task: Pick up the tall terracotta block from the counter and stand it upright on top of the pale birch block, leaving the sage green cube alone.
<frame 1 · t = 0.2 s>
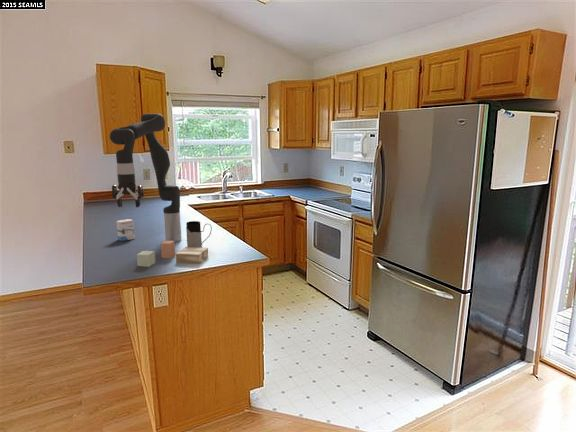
hand: (129, 207, 180), 29 cm above the worktop, tool pointing down, fingers open, 8 cm apart
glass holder: (199, 248, 212), on the worktop
birch block: (192, 260, 193), on the worktop
sage cube: (146, 264, 186), on the worktop
ink box: (126, 239, 230), on the worktop
terracotta block: (168, 256, 197), on the worktop
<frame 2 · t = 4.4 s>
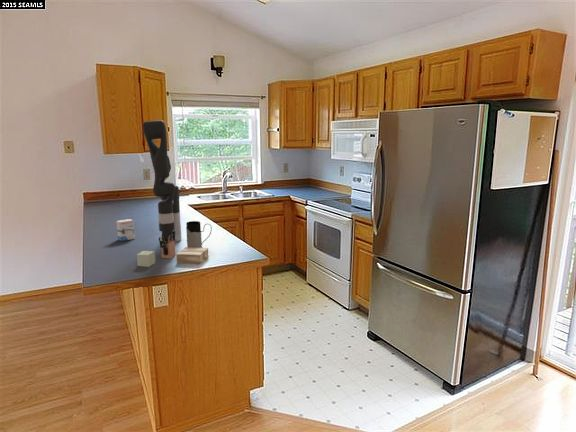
hand: (168, 253, 197), 2 cm above the worktop, tool pointing down, fingers closed on terracotta block, 5 cm apart
terracotta block: (168, 256, 197), on the worktop, touching gripper
everything else where it was.
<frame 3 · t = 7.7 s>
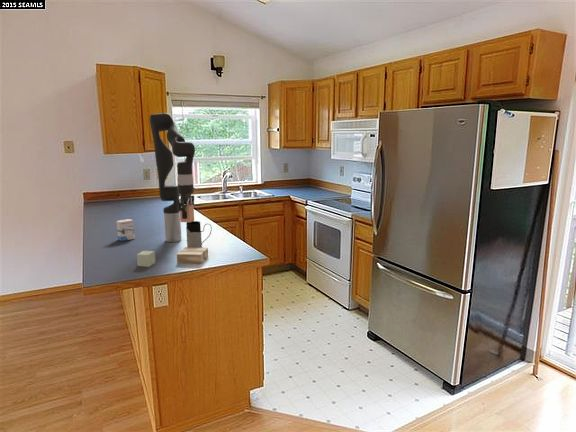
hand: (187, 217, 188), 22 cm above the worktop, tool pointing down, fingers closed on terracotta block, 5 cm apart
terracotta block: (187, 221, 189), point 20 cm above the worktop, touching gripper
everything else where it was.
when the fingers open (8 cm above the worktop, at t = 10.8 s): terracotta block drops 2 cm, resting on birch block.
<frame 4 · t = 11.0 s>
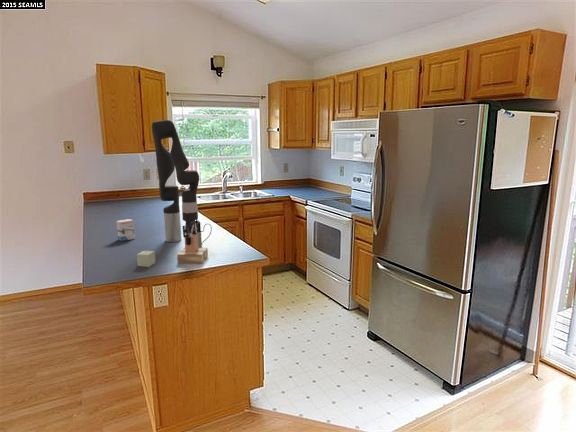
hand: (191, 242, 191), 9 cm above the worktop, tool pointing down, fingers open, 6 cm apart
birch block: (193, 260, 193), on the worktop, touching terracotta block
terracotta block: (192, 250, 192), point 5 cm above the worktop, touching birch block
everything else where it was.
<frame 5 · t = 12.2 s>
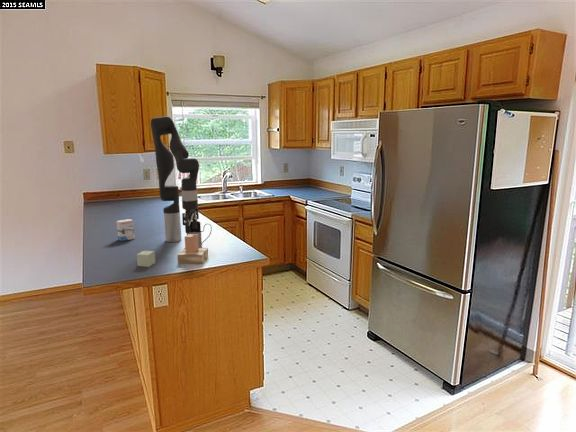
hand: (191, 230, 190), 15 cm above the worktop, tool pointing down, fingers open, 8 cm apart
birch block: (193, 260, 192), on the worktop
terracotta block: (192, 250, 192), point 5 cm above the worktop
everything else where it was.
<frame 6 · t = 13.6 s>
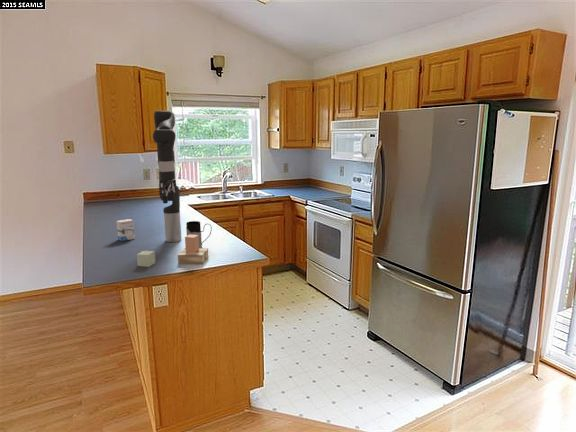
hand: (169, 201, 195), 29 cm above the worktop, tool pointing down, fingers open, 8 cm apart
birch block: (193, 260, 192), on the worktop, touching terracotta block
terracotta block: (192, 251, 191), point 5 cm above the worktop, touching birch block
everything else where it was.
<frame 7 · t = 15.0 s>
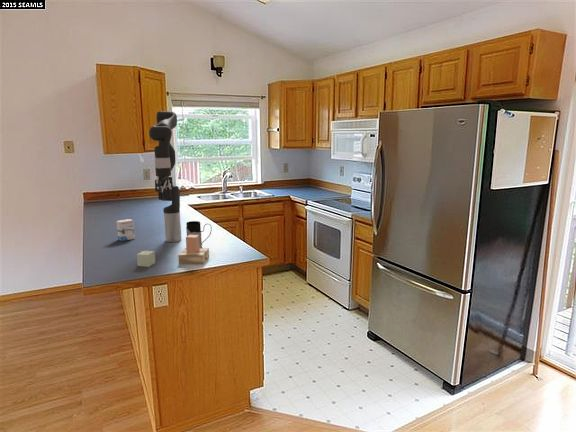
hand: (165, 198, 195), 30 cm above the worktop, tool pointing down, fingers open, 8 cm apart
nothing on the worktop moved.
at the end: terracotta block inside the target area on the birch block (0.4 cm from its centre), point 5.0 cm above the birch block's base; terracotta block tilted 0°; the gripper is holding nothing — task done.
